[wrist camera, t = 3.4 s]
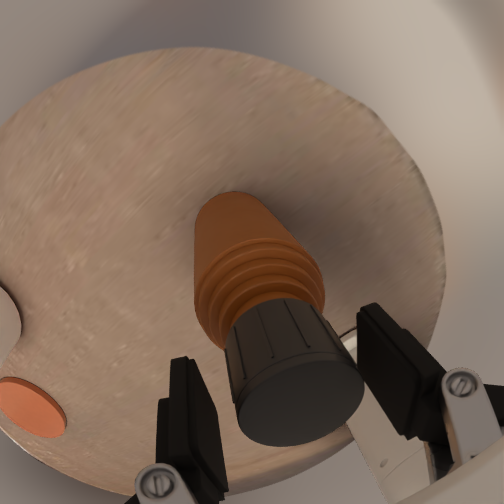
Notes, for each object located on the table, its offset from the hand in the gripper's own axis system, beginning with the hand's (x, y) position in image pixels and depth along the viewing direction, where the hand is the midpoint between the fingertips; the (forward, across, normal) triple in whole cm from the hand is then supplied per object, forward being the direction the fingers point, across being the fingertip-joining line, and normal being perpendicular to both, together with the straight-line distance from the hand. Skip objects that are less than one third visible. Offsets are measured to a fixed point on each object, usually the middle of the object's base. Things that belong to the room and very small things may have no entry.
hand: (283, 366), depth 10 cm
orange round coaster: (+17, +32, +16) cm, 40 cm away
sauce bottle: (+17, 0, 0) cm, 17 cm away
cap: (+2, 0, 0) cm, 2 cm away
